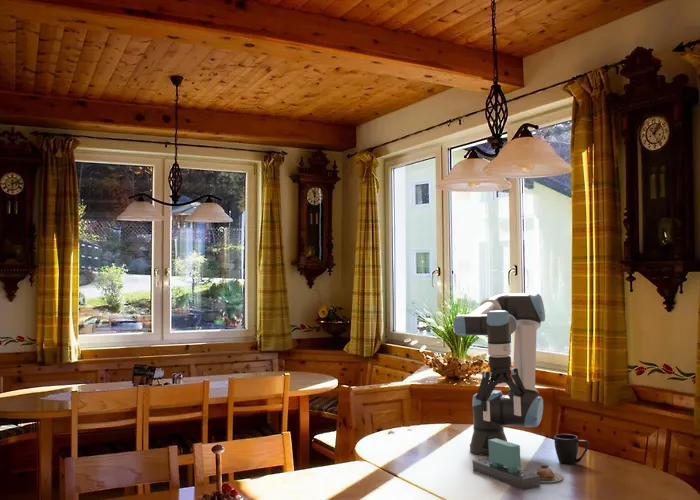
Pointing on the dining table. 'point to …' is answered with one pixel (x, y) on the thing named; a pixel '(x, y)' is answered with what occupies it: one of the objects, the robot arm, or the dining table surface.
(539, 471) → the pastry
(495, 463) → the clip
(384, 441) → the dining table surface
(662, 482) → the dining table surface
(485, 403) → the robot arm
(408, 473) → the dining table surface
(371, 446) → the dining table surface
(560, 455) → the mug
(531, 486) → the rail
